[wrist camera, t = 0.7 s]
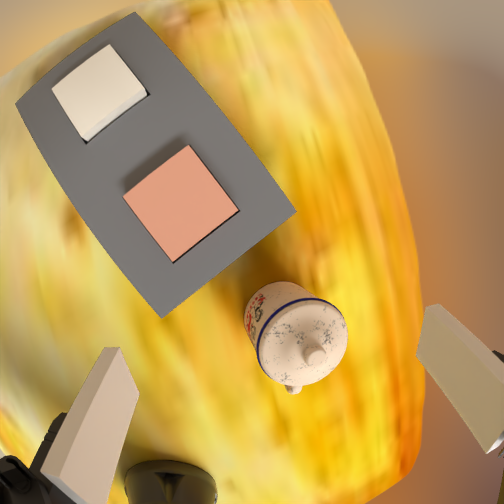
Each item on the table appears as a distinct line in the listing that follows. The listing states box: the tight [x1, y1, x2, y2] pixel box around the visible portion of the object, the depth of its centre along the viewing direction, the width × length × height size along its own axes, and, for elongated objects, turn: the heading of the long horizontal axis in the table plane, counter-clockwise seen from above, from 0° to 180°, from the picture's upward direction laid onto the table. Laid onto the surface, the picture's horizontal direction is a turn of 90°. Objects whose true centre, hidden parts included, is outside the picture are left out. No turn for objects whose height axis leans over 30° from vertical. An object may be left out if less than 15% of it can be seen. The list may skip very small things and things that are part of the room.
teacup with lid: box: [244, 281, 348, 394], centre depth 29 cm, size 12×9×12 cm
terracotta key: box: [123, 145, 238, 262], centre depth 26 cm, size 7×7×4 cm
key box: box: [15, 12, 297, 319], centre depth 27 cm, size 16×28×6 cm, turn 37°
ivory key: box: [52, 44, 147, 142], centre depth 23 cm, size 7×7×4 cm
